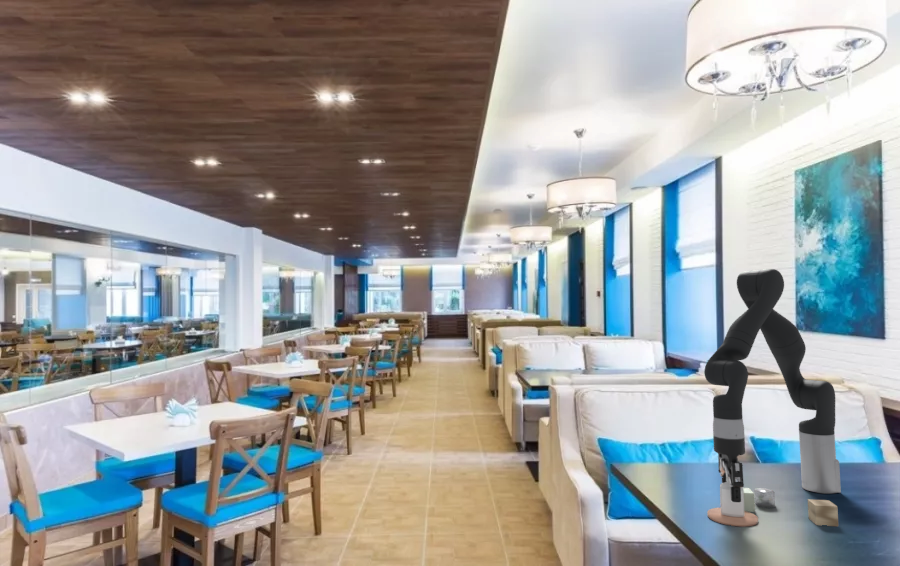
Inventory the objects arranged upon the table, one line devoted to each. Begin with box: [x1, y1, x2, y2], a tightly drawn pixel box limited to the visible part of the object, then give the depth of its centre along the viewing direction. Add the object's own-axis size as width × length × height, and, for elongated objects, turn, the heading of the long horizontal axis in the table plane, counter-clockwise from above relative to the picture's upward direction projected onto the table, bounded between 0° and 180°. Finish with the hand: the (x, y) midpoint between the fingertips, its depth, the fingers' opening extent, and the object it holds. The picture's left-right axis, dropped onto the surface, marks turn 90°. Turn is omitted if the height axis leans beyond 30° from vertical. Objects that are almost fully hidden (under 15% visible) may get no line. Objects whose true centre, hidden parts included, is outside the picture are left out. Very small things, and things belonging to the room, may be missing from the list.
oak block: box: [807, 498, 839, 527], centre depth 144 cm, size 5×5×5 cm
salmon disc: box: [706, 507, 759, 528], centre depth 148 cm, size 12×12×1 cm
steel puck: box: [753, 487, 776, 509], centre depth 158 cm, size 5×5×4 cm
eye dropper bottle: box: [719, 477, 745, 517], centre depth 148 cm, size 4×6×12 cm
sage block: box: [743, 487, 756, 513], centre depth 156 cm, size 5×5×5 cm
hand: (731, 496), depth 148 cm, fingers open, 8 cm apart
